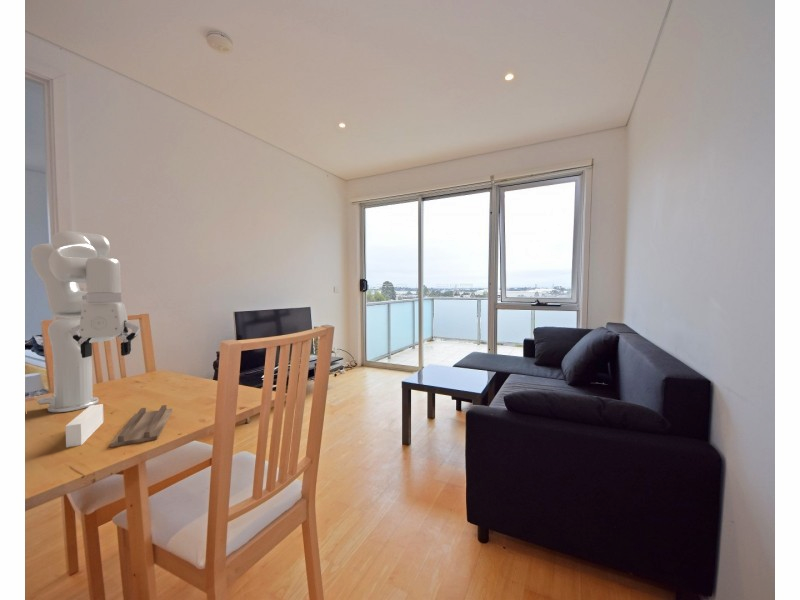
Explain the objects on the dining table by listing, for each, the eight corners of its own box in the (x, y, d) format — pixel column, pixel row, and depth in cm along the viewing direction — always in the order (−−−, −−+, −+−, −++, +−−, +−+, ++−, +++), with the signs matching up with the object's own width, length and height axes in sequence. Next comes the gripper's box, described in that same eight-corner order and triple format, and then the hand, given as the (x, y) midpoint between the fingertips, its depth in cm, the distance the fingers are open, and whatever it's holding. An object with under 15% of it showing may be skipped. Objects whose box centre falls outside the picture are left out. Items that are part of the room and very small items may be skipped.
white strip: (66, 448, 83) (65, 425, 83) (90, 424, 97) (90, 405, 97) (81, 445, 84) (80, 423, 84) (103, 422, 98) (102, 403, 98)
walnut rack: (110, 447, 83) (110, 438, 83) (135, 416, 103) (135, 409, 103) (157, 439, 88) (156, 430, 88) (172, 411, 107) (172, 404, 107)
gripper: (58, 299, 88) (61, 360, 88) (131, 298, 92) (133, 356, 92) (78, 299, 95) (80, 355, 95) (145, 298, 99) (146, 351, 100)
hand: (106, 355), depth 94 cm, fingers open, 9 cm apart
